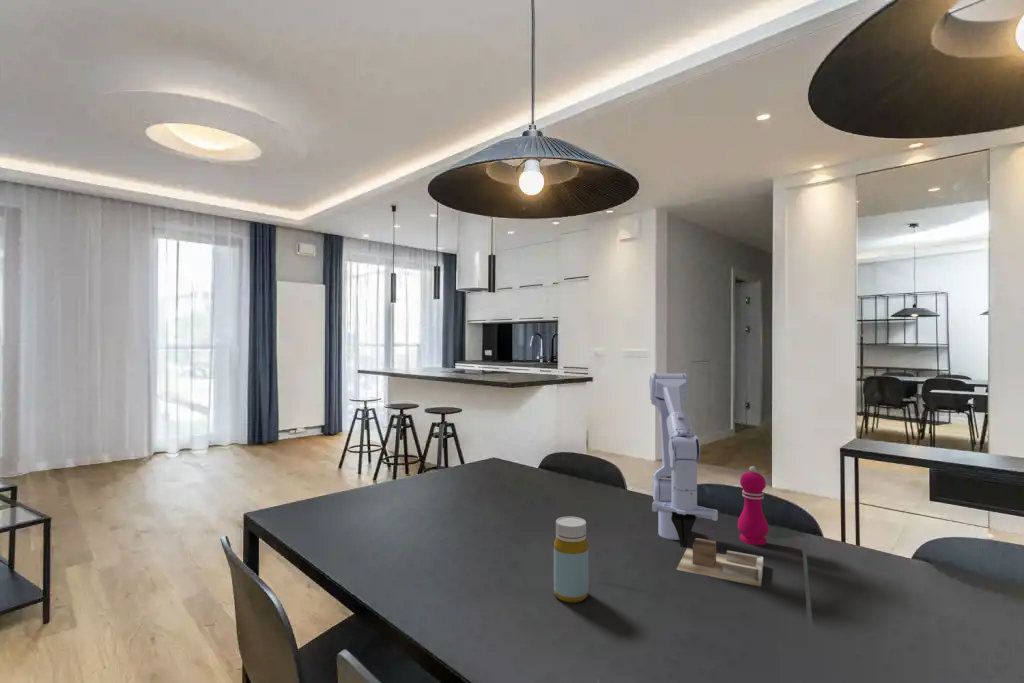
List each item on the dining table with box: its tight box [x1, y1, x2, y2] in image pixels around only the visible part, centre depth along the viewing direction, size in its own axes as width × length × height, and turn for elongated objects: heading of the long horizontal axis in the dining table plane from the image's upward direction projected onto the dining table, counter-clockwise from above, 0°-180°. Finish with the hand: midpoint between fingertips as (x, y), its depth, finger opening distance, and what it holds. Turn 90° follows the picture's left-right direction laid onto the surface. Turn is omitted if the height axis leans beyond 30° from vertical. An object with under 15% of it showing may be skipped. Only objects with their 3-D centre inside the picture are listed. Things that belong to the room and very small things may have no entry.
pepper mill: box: [737, 465, 770, 546], centre depth 132 cm, size 7×7×20 cm
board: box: [676, 547, 765, 588], centre depth 116 cm, size 14×17×3 cm
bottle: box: [553, 516, 589, 603], centre depth 104 cm, size 7×7×15 cm
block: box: [692, 537, 717, 568], centre depth 118 cm, size 4×4×4 cm
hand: (684, 545), depth 120 cm, fingers closed
